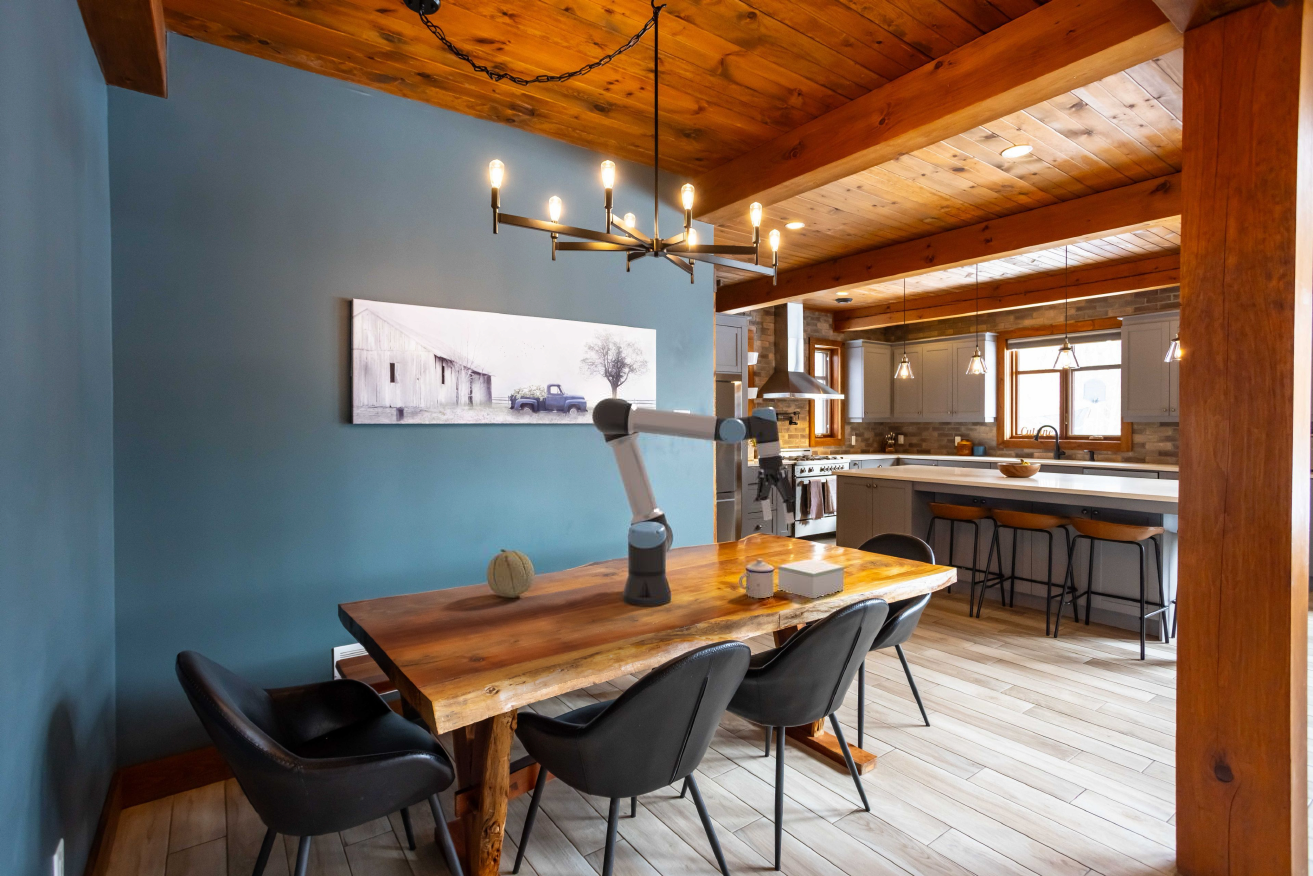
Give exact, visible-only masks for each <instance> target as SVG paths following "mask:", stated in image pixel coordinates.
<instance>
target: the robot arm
mask: <svg viewBox="0 0 1313 876" xmlns="http://www.w3.org/2000/svg"><path fill="white" fill-rule="evenodd" d="M591 415H592V419H591V420H592V423H593V424H594V426H595V428H596V429H597V430H598V431H599V432H600V433H602V434H603V438H604V441H605V444H606V445H608V446H609V447H611V448H612V452H613V454H614V457H615V461H616V464H617V467H618V471H619V473H620V477H621V481H622V483H623V487H624V491H625V493H626V498H627V500H628V504H629V507H630V511H631V512H632V513H631V514H632V519H631V521H630V522H629V523H630V525H631V526H630V527H629V529H628V533H627V541H628V545H627V547H628V548H627V554H628V556H627V557H628V558H627V559H628V561H627V563H628V564H627V565H628V566H627V567H628V569H627V571H628V572H627V579H626V581H625V585H624V589H623V591H622V602H623V603H625V604H628V605H630V606H631V605H632V606H635V607H637V606H638V607H657V606H663V605H666V604H669V603H670V602H671V601H672V591H671V589H670V584H669V582H668V578H667V570H666V568H667V567H666V566H667V565H666V563H667V562H666V561H667V558H666V557H667V553H668V552H669V550H670V549H671V547H672V545H673V541H674V533H673V530H672V528H671V526H670V524H669V523H668V522H667V518H666V514H665V512H664V511H663V510H662V509H659V508H658V504H657V500H656V498H655V493H654V491H653V488H652V485H651V482H650V478H649V475H648V471H647V469H646V465H645V462H644V459H643V455H642V452H641V449H640V446H639V442H638V438H639V435H640V433H642V434H651V435H661V436H669V437H670V436H671V437H678V438H686V439H694V440H695V439H696V440H701V441H702V440H703V441H704V440H705V441H713V442H718V443H719V444H729V445H735V444H738V443H740V442H743V441H749V440H751V441H752V440H755V447H756V453H757V457H758V466H759V469H760V470H758V471H757V473H758V474H757V475H758V480H757V481H758V482H757V488H756V489H757V490H756V498H757V499H759V501H760V503H761V508H762V515H763V516H762V517H763V521H769V520H772V519H773V515H772V514H773V513H772V508H771V502H770V492H771V489H772V486H773V487H775V488H776V490H777V492H778V493H779V495H780V497H781V498H782V500H783V501H782V506H783V507H782V508H783V514H784V521H785V522H784V523H785V525H788V524H793V523H795V517H794V516H795V515H794V508H793V501H796V498H797V497H796V495H795V493H794V490H793V488H792V485H791V482H790V480H789V477H788V474H787V473H788V472H787V470H786V469H785V470H784V469H783V470H781V469H780V468H781V467H783V465H784V463H783V456H782V455H781V453H782V450H781V449H782V448H781V442H780V434H779V427H778V419H777V415H776V410H775V408H774V407H771V406H769V407H763V408H761V407H760V408H755V409H752V410H751V415H749V416H743V417H741V416H740V417H735V418H734V417H723V416H715V415H705V414H698V413H689V412H679V411H670V410H664V409H655V408H643V407H638V406H637V405H636V404H635V403H630V402H628V401H627V400H625V399H623V398H614V397H612V398H611V397H608V398H604V399H602V400H600V401H599V402H597V403H596V404H595V405H594V408H593V410H592V414H591Z"/></svg>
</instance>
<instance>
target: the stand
mask: <svg viewBox="0 0 1313 876" xmlns="http://www.w3.org/2000/svg"><path fill="white" fill-rule="evenodd" d="M777 570H778V572H777V573H778V574H777V575H778V578H777V580H778V581H777V586H778V587H777V590H778V589H781V590H784V591H788V592H792V593H796V594H800V595H803V596H806V597H805V598H807V597H809V598H808V599H811V598H815V599H818V598H817V597H819V596H822V595H826V594H830V593H833V592H837V591H841V590H843V591H844V578H845V577H844V576H845V575H844V572H845V566H843V565H838V564H832V563H829V562H823V561H819V560H813V559H810V558H809V559H804V560H800V561H795V562H790V563H786V564H781V565H778V566H777ZM784 591H783V592H784ZM788 592H787V593H788ZM841 592H842V591H841ZM837 593H838V592H837ZM833 594H834V593H833ZM830 595H831V594H830ZM803 596H802V597H803ZM826 596H827V595H826ZM819 598H820V597H819Z"/></svg>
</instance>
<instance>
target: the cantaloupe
mask: <svg viewBox="0 0 1313 876" xmlns="http://www.w3.org/2000/svg"><path fill="white" fill-rule="evenodd" d="M500 552H501V553H497V554H496V555H495V556H494V557H493V558H492V559H491V561H489V563H488V566H487V569H486V578H487V583H488V586H489V587H490V590H491V591H492V592H494V593H495V594H496V595H497V596H500V597H502V598H509V599H515V598H517V597H519V596H520V595H522V594H524V593H525V592H527V591H528V590H529V589H530V588H531V587H532V585H533V583H534V579H535V569H534V566H533V564H532V561H531V560H530V558H529V557H528V556H527V555H526V554H525V553H523V552H521V551H520V550H519V551H518V550H506V549H504V548H501V549H500Z"/></svg>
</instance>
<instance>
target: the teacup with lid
mask: <svg viewBox="0 0 1313 876" xmlns="http://www.w3.org/2000/svg"><path fill="white" fill-rule="evenodd" d="M774 573H775V568H774V566H772V565H770V564H768V563H767V562H764V559H763V558H757V559H756V561H754V562H753V563H750V564H747V565H746V566H745V573H744V574H741V575H740V577H739V578H738V583H739V586H740V588H741V589H742V590H745V595H746V596H747V595H748V596H747V597H749V596H751V597H750V598H752V597H754V598H753V599H758V598H765V597H770V596H772V597H773V596H774ZM744 578H745V586H744V585H743V584H744V583H743V579H744ZM770 598H771V597H770Z"/></svg>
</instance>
